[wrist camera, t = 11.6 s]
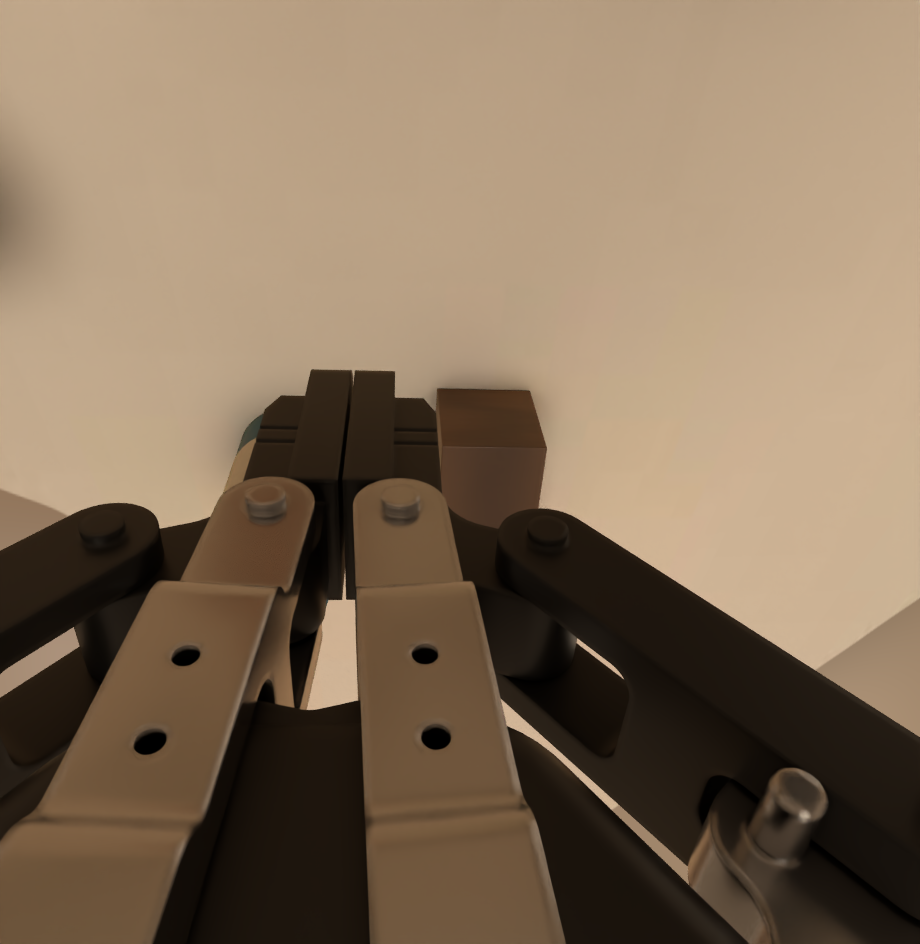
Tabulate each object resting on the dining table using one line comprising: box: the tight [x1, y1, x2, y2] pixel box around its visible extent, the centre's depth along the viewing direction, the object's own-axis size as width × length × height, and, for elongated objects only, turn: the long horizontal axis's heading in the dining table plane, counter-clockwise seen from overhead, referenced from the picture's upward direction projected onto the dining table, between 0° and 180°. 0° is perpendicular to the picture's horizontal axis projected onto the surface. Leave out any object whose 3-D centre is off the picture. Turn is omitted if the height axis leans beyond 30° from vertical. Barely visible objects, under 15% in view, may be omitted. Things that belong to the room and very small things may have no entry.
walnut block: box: [436, 389, 547, 529], centre depth 49 cm, size 6×10×7 cm, turn 177°
